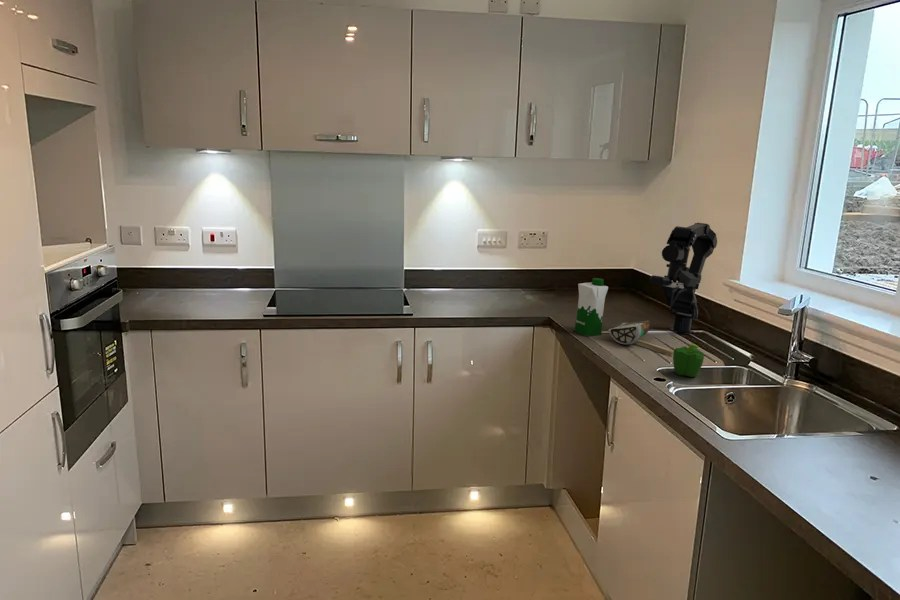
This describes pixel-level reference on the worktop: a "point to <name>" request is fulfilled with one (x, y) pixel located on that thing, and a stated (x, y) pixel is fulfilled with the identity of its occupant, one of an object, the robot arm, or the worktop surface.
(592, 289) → the milk carton
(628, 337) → the food container
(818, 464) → the worktop surface
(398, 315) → the worktop surface
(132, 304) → the worktop surface
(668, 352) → the oak strip
